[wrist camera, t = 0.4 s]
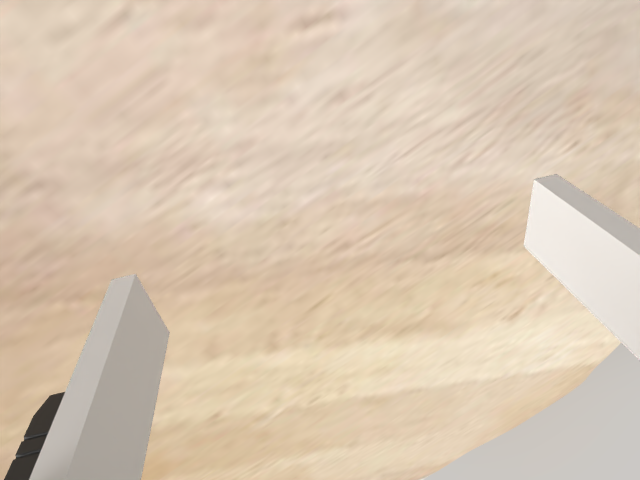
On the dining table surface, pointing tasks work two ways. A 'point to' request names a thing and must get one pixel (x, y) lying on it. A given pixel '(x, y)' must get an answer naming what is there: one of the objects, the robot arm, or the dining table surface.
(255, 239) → the dining table surface
